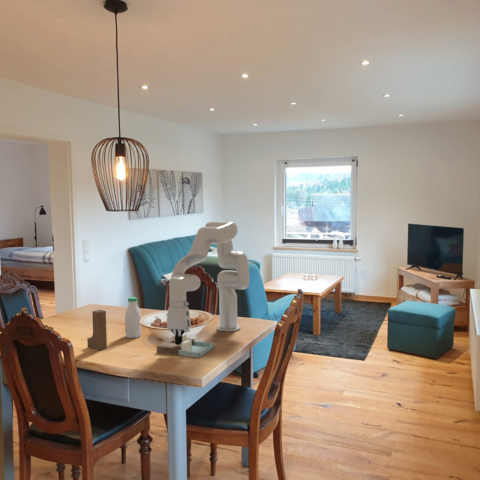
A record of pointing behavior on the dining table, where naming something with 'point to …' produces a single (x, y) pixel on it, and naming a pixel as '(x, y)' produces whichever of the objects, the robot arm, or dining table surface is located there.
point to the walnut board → (171, 347)
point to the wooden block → (98, 331)
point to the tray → (197, 349)
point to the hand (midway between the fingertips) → (178, 343)
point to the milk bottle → (132, 319)
